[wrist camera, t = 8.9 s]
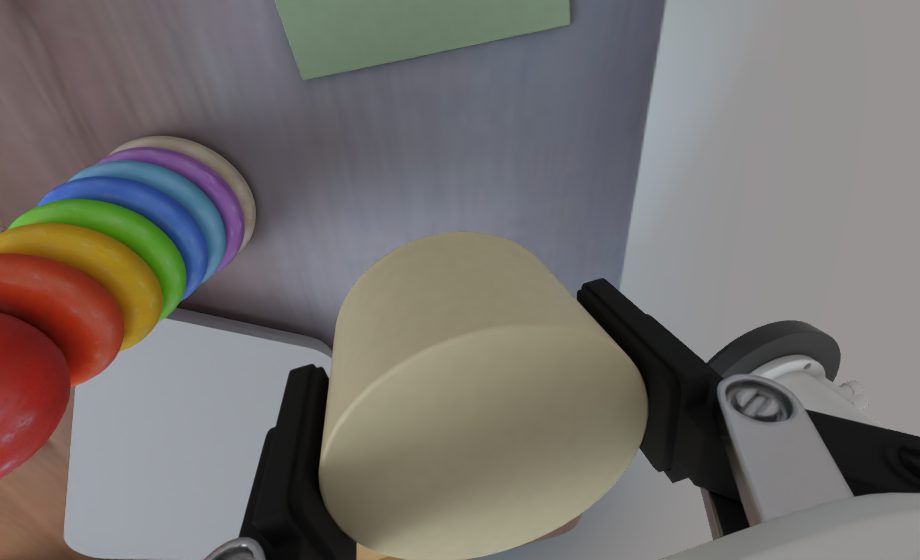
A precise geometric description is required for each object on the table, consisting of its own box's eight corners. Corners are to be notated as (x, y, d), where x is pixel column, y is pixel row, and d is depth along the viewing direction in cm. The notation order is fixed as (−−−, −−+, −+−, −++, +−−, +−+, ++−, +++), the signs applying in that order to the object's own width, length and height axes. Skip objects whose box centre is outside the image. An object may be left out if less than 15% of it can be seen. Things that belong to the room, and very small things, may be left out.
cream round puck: (551, 201, 10) (661, 277, 7) (566, 384, 14) (643, 503, 10) (293, 270, 10) (247, 401, 6) (376, 444, 13) (381, 596, 10)
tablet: (354, 339, 31) (353, 357, 29) (275, 536, 40) (270, 560, 38) (104, 282, 25) (82, 301, 23) (79, 530, 34) (61, 558, 32)
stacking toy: (83, 134, 21) (-842, 342, 5) (242, 132, 23) (-65, 287, 6) (137, 264, 25) (-286, 626, 9) (271, 255, 26) (122, 548, 10)
